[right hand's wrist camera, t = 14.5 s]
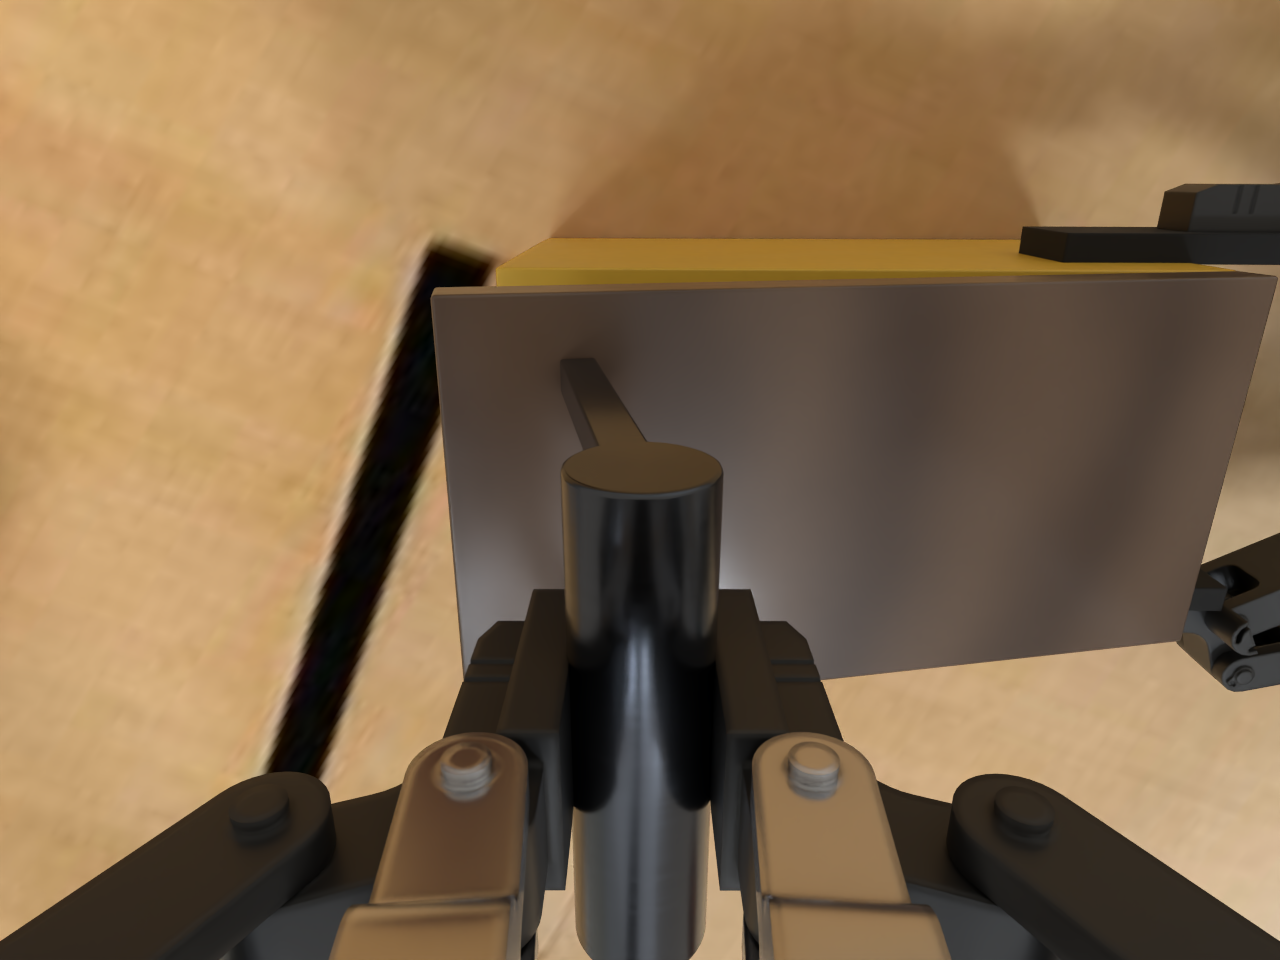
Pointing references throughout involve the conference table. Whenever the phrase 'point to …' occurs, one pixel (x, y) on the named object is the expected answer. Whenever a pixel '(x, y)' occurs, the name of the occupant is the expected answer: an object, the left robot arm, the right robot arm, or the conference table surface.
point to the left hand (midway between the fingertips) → (1011, 422)
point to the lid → (819, 501)
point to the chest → (787, 261)
